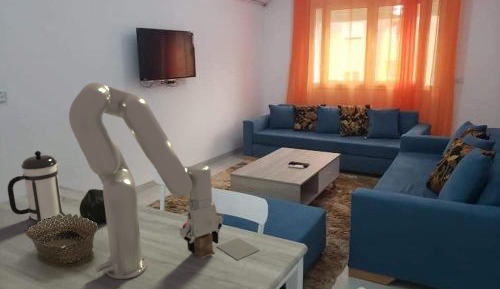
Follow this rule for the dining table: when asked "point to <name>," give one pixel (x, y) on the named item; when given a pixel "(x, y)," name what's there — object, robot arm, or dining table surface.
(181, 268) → the dining table surface
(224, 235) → the dining table surface
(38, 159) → the coffee press
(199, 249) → the walnut block
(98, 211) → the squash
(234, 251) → the pad
